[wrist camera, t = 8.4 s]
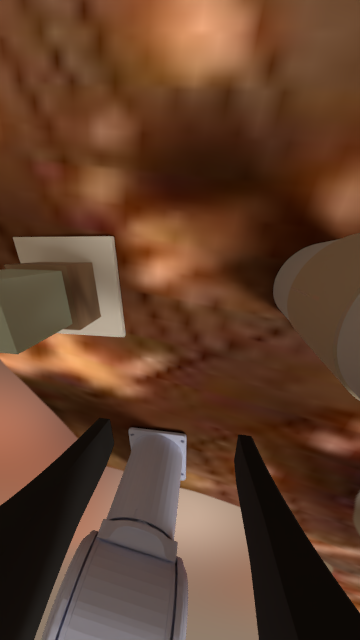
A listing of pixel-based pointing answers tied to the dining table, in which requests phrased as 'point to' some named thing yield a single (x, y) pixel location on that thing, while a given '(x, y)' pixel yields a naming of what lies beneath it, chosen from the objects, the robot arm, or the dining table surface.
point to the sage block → (31, 308)
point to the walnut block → (73, 289)
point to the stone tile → (104, 268)
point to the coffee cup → (326, 304)
